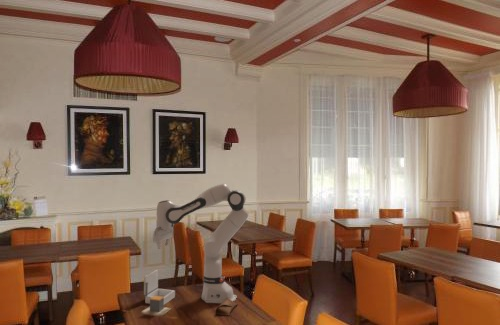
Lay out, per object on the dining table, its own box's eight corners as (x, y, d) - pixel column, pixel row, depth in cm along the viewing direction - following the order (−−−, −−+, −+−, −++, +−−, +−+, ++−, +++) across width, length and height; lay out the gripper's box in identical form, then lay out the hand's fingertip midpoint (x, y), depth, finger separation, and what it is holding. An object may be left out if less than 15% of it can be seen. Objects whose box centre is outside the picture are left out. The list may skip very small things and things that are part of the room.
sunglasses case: (229, 315, 219) (224, 304, 219) (219, 320, 220) (214, 309, 221) (238, 303, 236) (233, 293, 237) (228, 308, 238) (223, 298, 238)
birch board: (171, 309, 227) (171, 308, 227) (163, 316, 217) (163, 314, 217) (150, 307, 231) (150, 305, 231) (141, 313, 221) (141, 311, 221)
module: (163, 308, 225) (163, 296, 225) (159, 312, 221) (159, 299, 221) (154, 307, 227) (154, 295, 227) (149, 310, 222) (149, 298, 222)
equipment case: (174, 298, 245) (175, 271, 245) (163, 307, 231) (163, 278, 231) (156, 296, 249) (156, 269, 249) (143, 304, 234) (144, 276, 234)
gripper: (159, 228, 239) (159, 251, 239) (175, 223, 259) (174, 244, 259) (150, 227, 241) (150, 250, 241) (166, 223, 261) (166, 243, 261)
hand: (163, 247), depth 250 cm, fingers open, 8 cm apart
